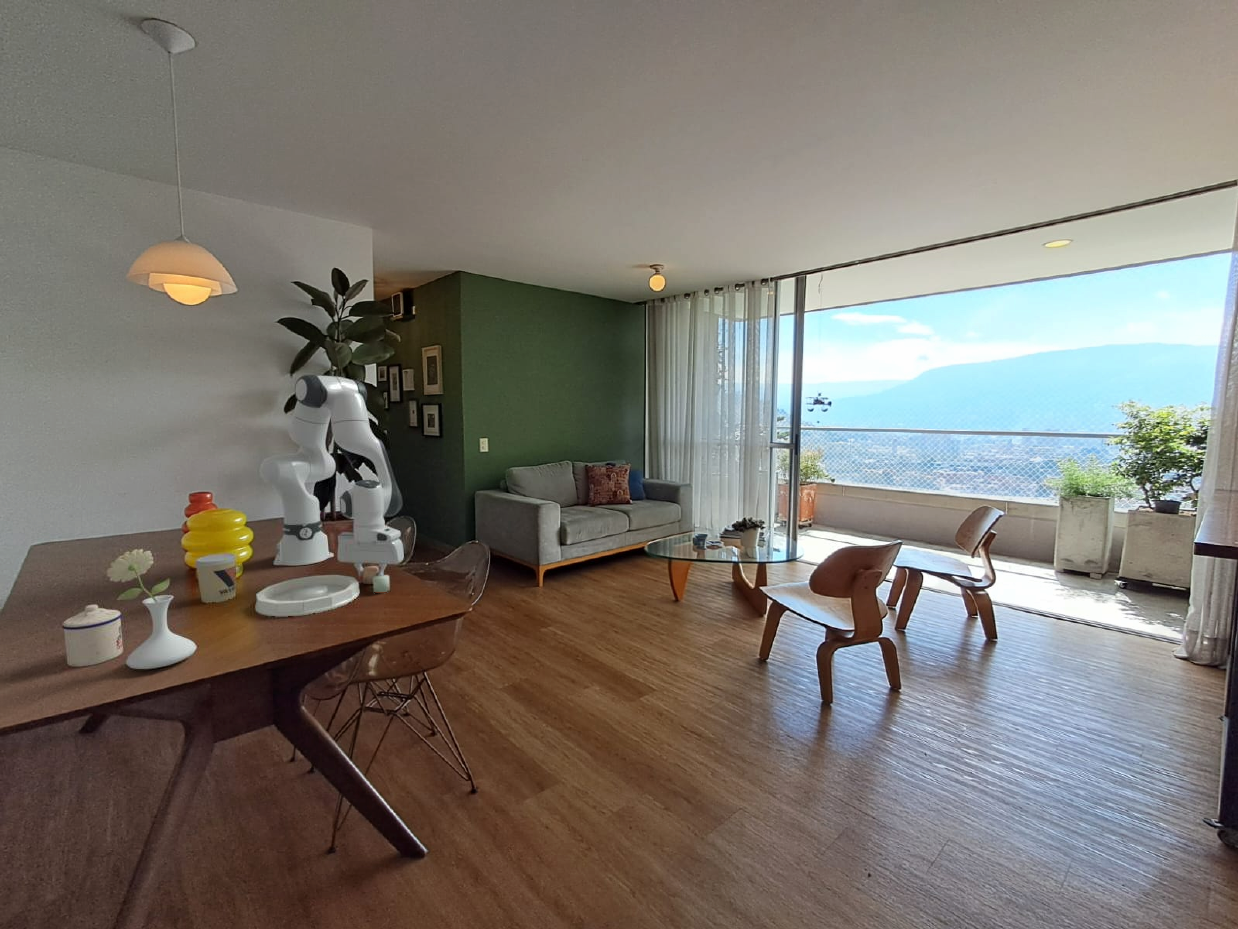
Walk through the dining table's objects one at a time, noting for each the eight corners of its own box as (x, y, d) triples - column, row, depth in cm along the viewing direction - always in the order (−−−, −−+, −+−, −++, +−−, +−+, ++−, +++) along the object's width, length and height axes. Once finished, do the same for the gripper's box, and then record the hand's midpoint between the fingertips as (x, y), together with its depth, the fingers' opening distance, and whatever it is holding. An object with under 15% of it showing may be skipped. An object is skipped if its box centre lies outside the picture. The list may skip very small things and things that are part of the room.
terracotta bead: (361, 581, 167) (361, 567, 166) (376, 578, 170) (376, 565, 169) (365, 584, 163) (365, 570, 163) (380, 582, 166) (380, 568, 166)
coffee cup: (222, 604, 148) (219, 562, 147) (189, 604, 148) (186, 561, 147) (246, 593, 157) (244, 553, 156) (215, 593, 158) (212, 553, 156)
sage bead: (371, 591, 159) (371, 576, 159) (387, 588, 162) (386, 574, 162) (375, 595, 156) (375, 580, 155) (391, 592, 159) (391, 577, 158)
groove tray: (251, 597, 153) (250, 585, 153) (348, 580, 169) (347, 569, 169) (260, 624, 133) (260, 611, 133) (370, 602, 150) (369, 590, 149)
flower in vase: (189, 645, 121) (181, 538, 119) (203, 660, 114) (195, 545, 112) (111, 666, 111) (100, 549, 109) (121, 684, 104) (109, 558, 102)
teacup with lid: (131, 654, 117) (127, 603, 116) (74, 672, 109) (68, 616, 108) (110, 643, 123) (106, 593, 122) (54, 658, 115) (49, 606, 114)
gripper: (331, 534, 163) (333, 578, 164) (395, 536, 161) (396, 580, 162) (344, 529, 169) (346, 572, 171) (405, 531, 167) (406, 574, 168)
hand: (371, 576), depth 166 cm, fingers closed on terracotta bead, 4 cm apart
